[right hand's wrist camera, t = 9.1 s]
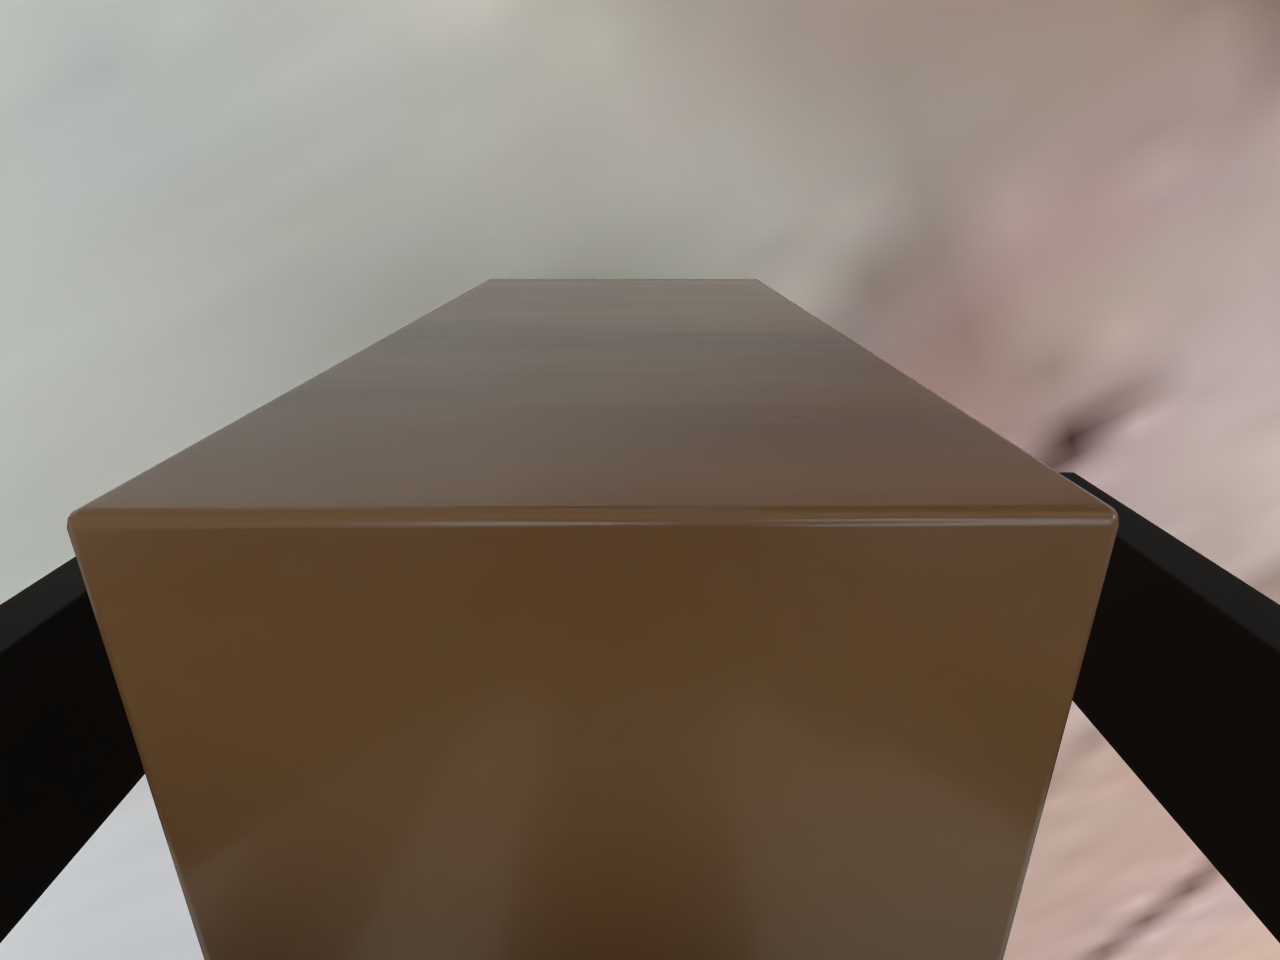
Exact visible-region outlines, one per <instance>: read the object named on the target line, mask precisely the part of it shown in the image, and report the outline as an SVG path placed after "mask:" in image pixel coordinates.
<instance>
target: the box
mask: <svg viewBox="0 0 1280 960" xmlns="http://www.w3.org/2000/svg"><path fill="white" fill-rule="evenodd" d="M1118 527H1119V519H1118V514H1117V512H1116V510H1115V509H1114V508H1113V507H1111V506H1110V505H1108V504H1106V503H1105V502H1103V501H1102V500H1100V499H1099V498H1097V497H1096V496H1094V495H1092V494H1091V493H1089V492H1088V491H1086V490H1085V489H1083V488H1082V487H1080V486H1078V485H1077V484H1075V483H1074V482H1072V481H1071V480H1069V479H1067V478H1066V477H1064V476H1063V475H1061V474H1060V473H1058V472H1057V471H1055V470H1053V469H1052V468H1050V467H1049V466H1047V465H1046V464H1044V463H1043V462H1041V461H1039V460H1038V459H1036V458H1035V457H1033V456H1032V455H1030V454H1028V453H1027V452H1025V451H1024V450H1022V449H1021V448H1019V447H1018V446H1016V445H1014V444H1013V443H1011V442H1010V441H1008V440H1007V439H1005V438H1004V437H1002V436H1000V435H999V434H997V433H996V432H994V431H993V430H991V429H989V428H988V427H986V426H985V425H983V424H982V423H980V422H979V421H977V420H975V419H974V418H972V417H971V416H969V415H968V414H966V413H965V412H963V411H961V410H960V409H958V408H957V407H955V406H954V405H952V404H950V403H949V402H947V401H946V400H944V399H943V398H941V397H940V396H938V395H936V394H935V393H933V392H932V391H930V390H929V389H927V388H926V387H924V386H922V385H921V384H919V383H918V382H916V381H915V380H913V379H911V378H910V377H908V376H907V375H905V374H904V373H902V372H901V371H899V370H897V369H896V368H894V367H893V366H891V365H890V364H888V363H887V362H885V361H883V360H882V359H880V358H879V357H877V356H876V355H874V354H872V353H871V352H869V351H868V350H866V349H865V348H863V347H862V346H860V345H858V344H857V343H855V342H854V341H852V340H851V339H849V338H848V337H846V336H844V335H843V334H841V333H840V332H838V331H837V330H835V329H833V328H832V327H830V326H829V325H827V324H826V323H824V322H823V321H821V320H819V319H818V318H816V317H815V316H813V315H812V314H810V313H809V312H807V311H805V310H804V309H802V308H801V307H799V306H798V305H796V304H794V303H793V302H791V301H790V300H788V299H787V298H785V297H784V296H782V295H780V294H779V293H777V292H776V291H774V290H773V289H771V288H770V287H768V286H766V285H765V284H763V283H762V282H760V281H759V280H756V279H490V280H488V281H486V282H484V283H482V284H481V285H479V286H477V287H475V288H473V289H472V290H470V291H468V292H466V293H464V294H463V295H461V296H459V297H457V298H455V299H454V300H452V301H450V302H448V303H446V304H445V305H443V306H441V307H439V308H437V309H436V310H434V311H432V312H430V313H429V314H427V315H425V316H423V317H421V318H420V319H418V320H416V321H414V322H412V323H411V324H409V325H407V326H405V327H403V328H402V329H400V330H398V331H396V332H394V333H393V334H391V335H389V336H387V337H385V338H384V339H382V340H380V341H378V342H376V343H375V344H373V345H371V346H369V347H368V348H366V349H364V350H362V351H360V352H359V353H357V354H355V355H353V356H351V357H350V358H348V359H346V360H344V361H342V362H341V363H339V364H337V365H335V366H333V367H332V368H330V369H328V370H326V371H324V372H323V373H321V374H319V375H317V376H315V377H314V378H312V379H310V380H308V381H307V382H305V383H303V384H301V385H299V386H298V387H296V388H294V389H292V390H290V391H289V392H287V393H285V394H283V395H281V396H280V397H278V398H276V399H274V400H272V401H271V402H269V403H267V404H265V405H263V406H262V407H260V408H258V409H256V410H254V411H253V412H251V413H249V414H247V415H245V416H244V417H242V418H240V419H238V420H237V421H235V422H233V423H231V424H229V425H228V426H226V427H224V428H222V429H220V430H219V431H217V432H215V433H213V434H211V435H210V436H208V437H206V438H204V439H202V440H201V441H199V442H197V443H195V444H193V445H192V446H190V447H188V448H186V449H184V450H183V451H181V452H179V453H177V454H176V455H174V456H172V457H170V458H168V459H167V460H165V461H163V462H161V463H159V464H158V465H156V466H154V467H152V468H150V469H149V470H147V471H145V472H143V473H141V474H140V475H138V476H136V477H134V478H132V479H131V480H129V481H127V482H125V483H123V484H122V485H120V486H118V487H116V488H115V489H113V490H111V491H109V492H107V493H106V494H104V495H102V496H100V497H98V498H97V499H95V500H93V501H91V502H89V503H88V504H86V505H84V506H82V507H80V508H79V509H77V510H75V511H73V512H72V513H71V515H70V516H69V517H68V523H67V530H68V533H69V536H70V539H71V542H72V545H73V549H74V552H75V555H76V558H77V561H78V564H79V567H80V571H81V574H82V577H83V580H84V583H85V586H86V589H87V593H88V596H89V599H90V602H91V605H92V608H93V611H94V614H95V618H96V621H97V624H98V627H99V630H100V633H101V636H102V640H103V643H104V646H105V649H106V652H107V655H108V658H109V662H110V665H111V668H112V671H113V674H114V677H115V680H116V683H117V687H118V690H119V693H120V696H121V699H122V702H123V705H124V709H125V712H126V715H127V718H128V721H129V724H130V727H131V730H132V734H133V737H134V740H135V743H136V746H137V749H138V752H139V756H140V759H141V762H142V765H143V768H144V771H145V774H146V778H147V781H148V784H149V787H150V790H151V793H152V796H153V799H154V803H155V806H156V809H157V812H158V815H159V818H160V821H161V825H162V828H163V831H164V834H165V837H166V840H167V843H168V846H169V850H170V853H171V856H172V859H173V862H174V865H175V868H176V872H177V875H178V878H179V881H180V884H181V887H182V890H183V894H184V897H185V900H186V903H187V906H188V909H189V912H190V915H191V919H192V922H193V925H194V928H195V931H196V934H197V937H198V941H199V944H200V947H201V950H202V953H203V956H204V959H205V960H1003V957H1004V953H1005V949H1006V946H1007V942H1008V938H1009V934H1010V931H1011V927H1012V923H1013V919H1014V916H1015V912H1016V908H1017V904H1018V901H1019V897H1020V893H1021V889H1022V886H1023V882H1024V878H1025V875H1026V871H1027V867H1028V863H1029V860H1030V856H1031V852H1032V848H1033V845H1034V841H1035V837H1036V833H1037V830H1038V826H1039V822H1040V818H1041V815H1042V811H1043V807H1044V804H1045V800H1046V796H1047V792H1048V789H1049V785H1050V781H1051V777H1052V774H1053V770H1054V766H1055V762H1056V759H1057V755H1058V751H1059V747H1060V744H1061V740H1062V736H1063V732H1064V729H1065V725H1066V721H1067V718H1068V714H1069V710H1070V706H1071V703H1072V699H1073V695H1074V691H1075V688H1076V684H1077V680H1078V676H1079V673H1080V669H1081V665H1082V661H1083V658H1084V654H1085V650H1086V647H1087V643H1088V639H1089V635H1090V632H1091V628H1092V624H1093V620H1094V617H1095V613H1096V609H1097V605H1098V602H1099V598H1100V594H1101V590H1102V587H1103V583H1104V579H1105V576H1106V572H1107V568H1108V564H1109V561H1110V557H1111V553H1112V549H1113V546H1114V542H1115V538H1116V534H1117V531H1118Z"/></svg>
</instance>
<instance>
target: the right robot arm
mask: <svg viewBox="0 0 1280 960" xmlns="http://www.w3.org/2000/svg"><path fill="white" fill-rule="evenodd" d="M1060 474H1061V475H1063V476H1064V477H1066V478H1067V479H1069V480H1071V481H1072V482H1074V483H1075V484H1077V485H1078V486H1080V487H1082V488H1083V489H1085V490H1086V491H1088V492H1089V493H1091V494H1092V495H1094V496H1096V497H1097V498H1099V499H1100V500H1102V501H1103V502H1105V503H1106V504H1108V505H1110V506H1111V507H1113V508H1114V509H1115V510H1116V512H1117V514H1118V519H1119V527H1118V531H1117V534H1116V538H1115V542H1114V546H1113V549H1112V553H1111V557H1110V561H1109V564H1108V568H1107V572H1106V576H1105V579H1104V583H1103V587H1102V590H1101V594H1100V598H1099V602H1098V605H1097V609H1096V613H1095V617H1094V620H1093V624H1092V628H1091V632H1090V635H1089V639H1088V643H1087V647H1086V650H1085V654H1084V658H1083V661H1082V665H1081V669H1080V673H1079V676H1078V680H1077V684H1076V688H1075V691H1074V695H1073V699H1072V700H1073V701H1074V703H1075V704H1076V705H1077V706H1078V707H1079V708H1080V710H1081V711H1082V712H1083V713H1084V714H1085V716H1086V717H1087V718H1088V719H1089V720H1090V721H1091V723H1092V724H1093V725H1094V726H1095V727H1096V728H1097V730H1098V731H1099V732H1100V733H1101V734H1102V735H1103V737H1104V738H1105V739H1106V740H1107V741H1108V742H1109V744H1110V745H1111V746H1112V747H1113V748H1114V749H1115V751H1116V752H1117V753H1118V754H1119V755H1120V756H1121V758H1122V759H1123V760H1124V761H1125V762H1126V764H1127V765H1128V766H1129V767H1130V768H1131V769H1132V771H1133V772H1134V773H1135V774H1136V775H1137V776H1138V778H1139V779H1140V780H1141V781H1142V782H1143V783H1144V785H1145V786H1146V787H1147V788H1148V789H1149V790H1150V792H1151V793H1152V794H1153V795H1154V796H1155V797H1156V799H1157V800H1158V801H1159V802H1160V803H1161V805H1162V806H1163V807H1164V808H1165V809H1166V810H1167V812H1168V813H1169V814H1170V815H1171V816H1172V817H1173V819H1174V820H1175V821H1176V822H1177V823H1178V824H1179V826H1180V827H1181V828H1182V829H1183V830H1184V831H1185V833H1186V834H1187V835H1188V836H1189V837H1190V838H1191V840H1192V841H1193V842H1194V843H1195V844H1196V846H1197V847H1198V848H1199V849H1200V850H1201V851H1202V853H1203V854H1204V855H1205V856H1206V857H1207V858H1208V860H1209V861H1210V862H1211V863H1212V864H1213V865H1214V867H1215V868H1216V869H1217V870H1218V871H1219V872H1220V874H1221V875H1222V876H1223V877H1224V878H1225V879H1226V881H1227V882H1228V883H1229V884H1230V885H1231V887H1232V888H1233V889H1234V890H1235V891H1236V892H1237V894H1238V895H1239V896H1240V897H1241V898H1242V899H1243V901H1244V902H1245V903H1246V904H1247V905H1248V906H1249V908H1250V909H1251V910H1252V911H1253V912H1254V913H1255V915H1256V916H1257V917H1258V918H1259V919H1260V920H1261V922H1262V923H1263V924H1264V925H1265V926H1266V928H1267V929H1268V930H1269V931H1270V932H1271V933H1272V935H1273V936H1274V937H1275V938H1276V939H1277V940H1278V942H1279V943H1280V605H1279V604H1277V603H1276V602H1274V601H1273V600H1271V599H1270V598H1268V597H1266V596H1265V595H1263V594H1262V593H1260V592H1259V591H1257V590H1256V589H1254V588H1252V587H1251V586H1249V585H1248V584H1246V583H1245V582H1243V581H1242V580H1240V579H1238V578H1237V577H1235V576H1234V575H1232V574H1231V573H1229V572H1228V571H1226V570H1224V569H1223V568H1221V567H1220V566H1218V565H1217V564H1215V563H1214V562H1212V561H1210V560H1209V559H1207V558H1206V557H1204V556H1203V555H1201V554H1200V553H1198V552H1196V551H1195V550H1193V549H1192V548H1190V547H1189V546H1187V545H1186V544H1184V543H1182V542H1181V541H1179V540H1178V539H1176V538H1175V537H1173V536H1172V535H1170V534H1168V533H1167V532H1165V531H1164V530H1162V529H1161V528H1159V527H1158V526H1156V525H1154V524H1153V523H1151V522H1150V521H1148V520H1147V519H1145V518H1144V517H1142V516H1140V515H1139V514H1137V513H1136V512H1134V511H1133V510H1131V509H1130V508H1128V507H1126V506H1125V505H1123V504H1122V503H1120V502H1119V501H1117V500H1116V499H1114V498H1112V497H1111V496H1109V495H1108V494H1106V493H1105V492H1103V491H1102V490H1100V489H1099V488H1097V487H1095V486H1094V485H1092V484H1091V483H1089V482H1088V481H1086V480H1085V479H1083V478H1081V477H1080V476H1078V475H1077V474H1075V473H1060ZM144 774H145V771H144V768H143V765H142V762H141V759H140V756H139V752H138V749H137V746H136V743H135V740H134V737H133V734H132V730H131V727H130V724H129V721H128V718H127V715H126V712H125V709H124V705H123V702H122V699H121V696H120V693H119V690H118V687H117V683H116V680H115V677H114V674H113V671H112V668H111V665H110V662H109V658H108V655H107V652H106V649H105V646H104V643H103V640H102V636H101V633H100V630H99V627H98V624H97V621H96V618H95V614H94V611H93V608H92V605H91V602H90V599H89V596H88V593H87V589H86V586H85V583H84V580H83V577H82V574H81V571H80V567H79V564H78V561H77V558H76V557H74V558H73V559H71V560H70V561H68V562H66V563H65V564H63V565H62V566H60V567H59V568H57V569H56V570H54V571H52V572H51V573H49V574H48V575H46V576H45V577H43V578H42V579H40V580H38V581H37V582H35V583H34V584H32V585H31V586H29V587H28V588H26V589H24V590H23V591H21V592H20V593H18V594H17V595H15V596H14V597H12V598H10V599H9V600H7V601H6V602H4V603H3V604H1V605H0V943H1V942H2V940H3V939H4V938H5V937H6V936H7V935H8V933H9V932H10V931H11V930H12V929H13V928H14V926H15V925H16V924H17V923H18V922H19V920H20V919H21V918H22V917H23V916H24V915H25V913H26V912H27V911H28V910H29V909H30V908H31V906H32V905H33V904H34V903H35V902H36V901H37V899H38V898H39V897H40V896H41V895H42V894H43V892H44V891H45V890H46V889H47V888H48V887H49V885H50V884H51V883H52V882H53V881H54V879H55V878H56V877H57V876H58V875H59V874H60V872H61V871H62V870H63V869H64V868H65V867H66V865H67V864H68V863H69V862H70V861H71V860H72V858H73V857H74V856H75V855H76V854H77V853H78V851H79V850H80V849H81V848H82V847H83V846H84V844H85V843H86V842H87V841H88V840H89V838H90V837H91V836H92V835H93V834H94V833H95V831H96V830H97V829H98V828H99V827H100V826H101V824H102V823H103V822H104V821H105V820H106V819H107V817H108V816H109V815H110V814H111V813H112V812H113V810H114V809H115V808H116V807H117V806H118V805H119V803H120V802H121V801H122V800H123V799H124V798H125V796H126V795H127V794H128V793H129V792H130V790H131V789H132V788H133V787H134V786H135V785H136V783H137V782H138V781H139V780H140V779H141V778H142V776H143V775H144Z"/></svg>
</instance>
